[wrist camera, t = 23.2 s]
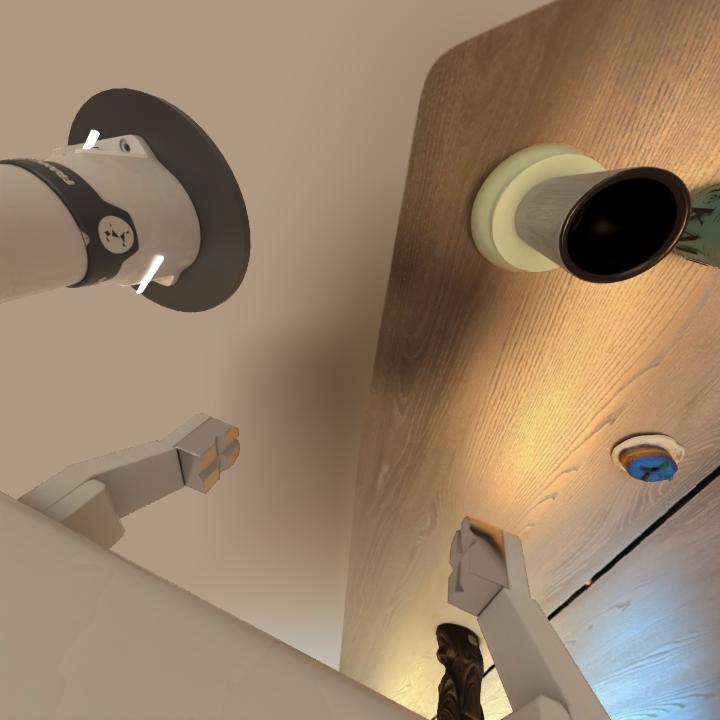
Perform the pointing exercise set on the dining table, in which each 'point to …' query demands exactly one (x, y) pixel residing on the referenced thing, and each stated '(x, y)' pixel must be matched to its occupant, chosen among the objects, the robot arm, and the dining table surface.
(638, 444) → the dessert
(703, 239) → the beverage bottle
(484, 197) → the pale green two-tone container
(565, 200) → the grey tumbler
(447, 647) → the sculpture
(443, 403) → the dining table surface
